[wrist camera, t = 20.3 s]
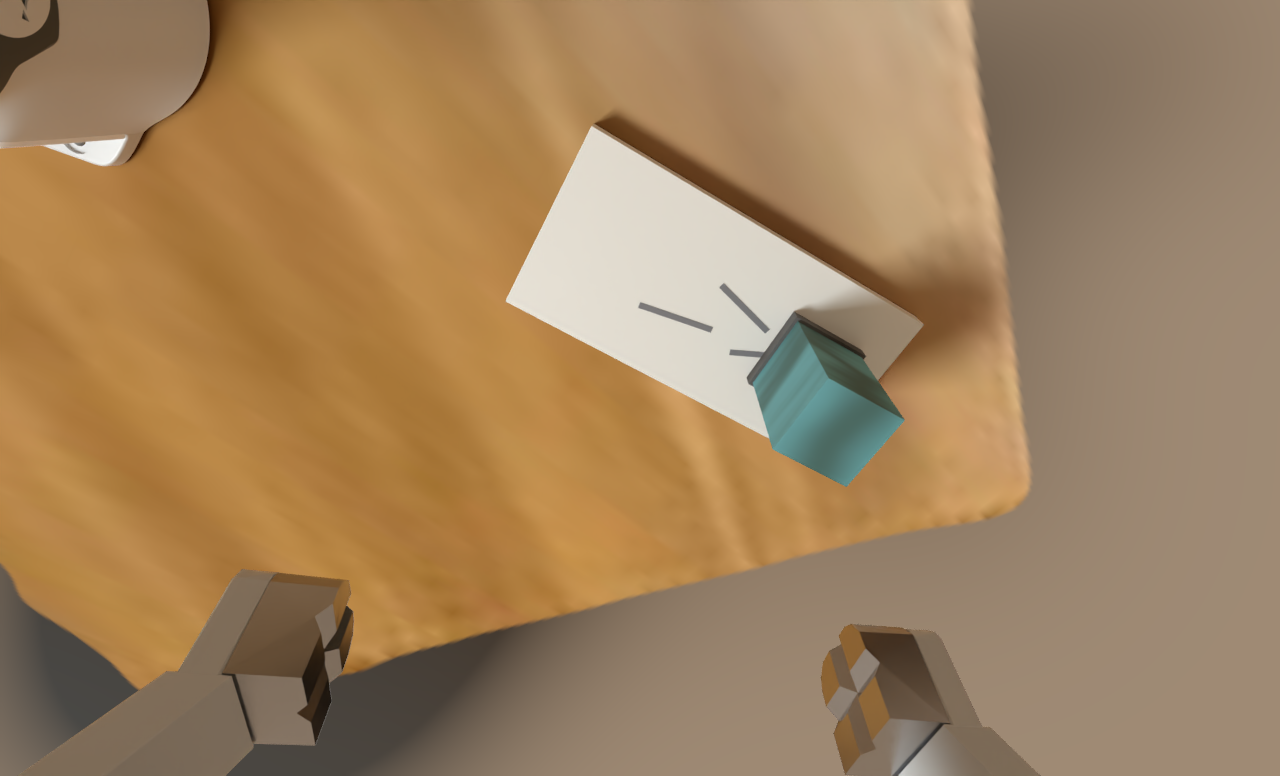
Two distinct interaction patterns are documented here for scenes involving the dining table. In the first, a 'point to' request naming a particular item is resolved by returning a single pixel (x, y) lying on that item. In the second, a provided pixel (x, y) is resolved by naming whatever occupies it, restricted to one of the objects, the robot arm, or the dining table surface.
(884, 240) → the dining table surface
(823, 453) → the block
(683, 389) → the board
